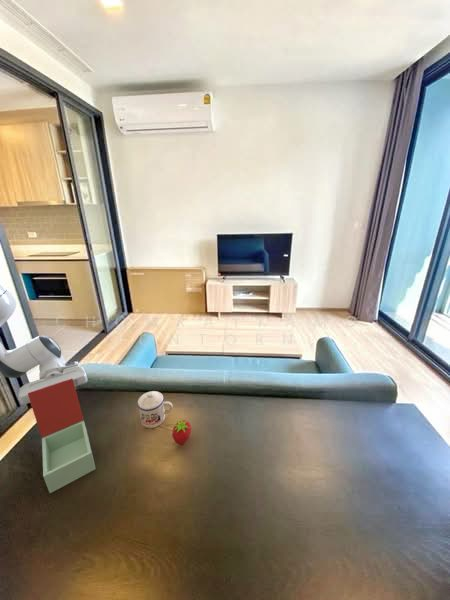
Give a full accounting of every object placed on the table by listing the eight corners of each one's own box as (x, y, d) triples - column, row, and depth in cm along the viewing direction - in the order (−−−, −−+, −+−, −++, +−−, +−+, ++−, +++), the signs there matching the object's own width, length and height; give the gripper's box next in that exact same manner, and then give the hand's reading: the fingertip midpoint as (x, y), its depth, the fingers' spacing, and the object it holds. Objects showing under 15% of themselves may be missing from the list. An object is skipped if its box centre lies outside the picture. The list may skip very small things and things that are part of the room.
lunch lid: (72, 378, 80) (72, 377, 80) (27, 393, 74) (27, 392, 74) (83, 419, 83) (83, 418, 84) (41, 437, 77) (41, 436, 77)
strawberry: (194, 434, 86) (192, 412, 82) (188, 454, 79) (186, 431, 75) (177, 432, 87) (175, 410, 83) (170, 452, 80) (168, 429, 76)
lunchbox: (95, 469, 75) (91, 452, 72) (49, 493, 69) (43, 476, 66) (87, 435, 86) (83, 420, 84) (47, 453, 80) (41, 438, 77)
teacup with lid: (138, 430, 88) (133, 404, 84) (143, 410, 96) (139, 386, 92) (172, 427, 89) (169, 401, 85) (174, 408, 97) (172, 383, 93)
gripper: (16, 379, 87) (14, 403, 77) (82, 359, 98) (87, 377, 88) (22, 394, 90) (20, 419, 79) (85, 373, 101) (91, 392, 90)
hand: (56, 397), depth 84 cm, fingers closed
